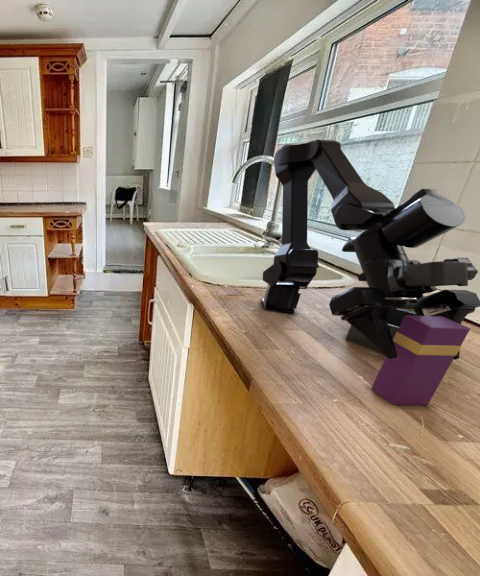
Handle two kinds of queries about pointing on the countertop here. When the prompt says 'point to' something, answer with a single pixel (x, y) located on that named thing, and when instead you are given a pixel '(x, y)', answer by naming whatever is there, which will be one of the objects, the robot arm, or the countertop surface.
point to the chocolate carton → (419, 359)
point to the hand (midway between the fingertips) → (423, 358)
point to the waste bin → (393, 322)
